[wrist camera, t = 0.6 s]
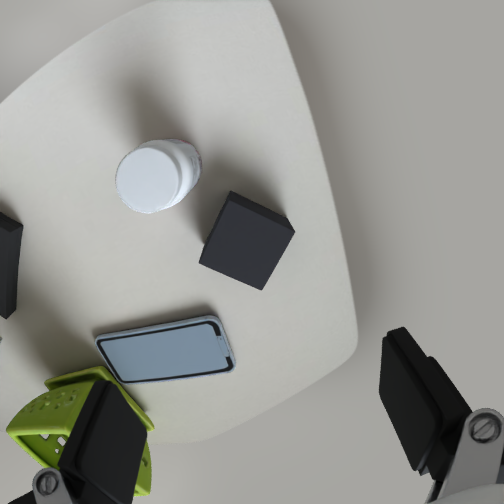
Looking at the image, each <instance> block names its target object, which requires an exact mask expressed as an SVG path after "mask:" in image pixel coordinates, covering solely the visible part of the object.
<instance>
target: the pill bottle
mask: <svg viewBox="0 0 504 504" xmlns="http://www.w3.org/2000/svg"><path fill="white" fill-rule="evenodd" d="M201 172H202V161H201V157H200V155H199V153H198V151H197V150H196V149H195V148H194V147H193V146H192V145H191V144H190V143H188V142H186V141H183V140H179V139H166V140H152V141H148V142H145V143H143V144H141V145H140V146H138V147H137V148H136V149H134V150H133V151H131V152H130V153H128V154H127V155H126V156H125V157H124V158H123V159H122V161H121V162H120V164H119V166H118V168H117V172H116V188H117V191H118V194H119V196H120V198H121V199H122V201H123V202H124V203H125V204H126V205H127V206H128V207H129V208H131V209H133V210H135V211H137V212H141V213H153V212H157V211H160V210H162V209H166V208H169V207H171V206H173V205H175V204H177V203H178V202H179V201H181V200H182V199H183V198H184V197H185V195H186V194H187V193H188V192H189V191H190V190H191V189H192V188H193V187H194V186H195V185H196V184H197V182H198V180H199V178H200V176H201Z"/></svg>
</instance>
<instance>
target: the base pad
mask: <svg viewBox="0 0 504 504" xmlns="http://www.w3.org/2000/svg"><path fill="white" fill-rule="evenodd" d="M22 231H23V225H21V224H20V223H18V222H16V221H15V220H13V219H11V218H10V217H8V216H6V215H5V214H3V213H1V212H0V316H2V317H3V318H5V319H7V318H8V317H9V316H10V315H11V314H12V313H13V312H14V311H15V310H16V298H17V278H18V265H19V255H20V246H21V238H22Z"/></svg>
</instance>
